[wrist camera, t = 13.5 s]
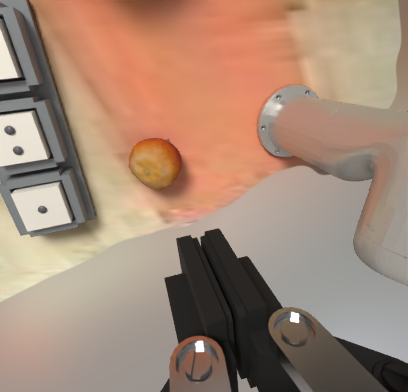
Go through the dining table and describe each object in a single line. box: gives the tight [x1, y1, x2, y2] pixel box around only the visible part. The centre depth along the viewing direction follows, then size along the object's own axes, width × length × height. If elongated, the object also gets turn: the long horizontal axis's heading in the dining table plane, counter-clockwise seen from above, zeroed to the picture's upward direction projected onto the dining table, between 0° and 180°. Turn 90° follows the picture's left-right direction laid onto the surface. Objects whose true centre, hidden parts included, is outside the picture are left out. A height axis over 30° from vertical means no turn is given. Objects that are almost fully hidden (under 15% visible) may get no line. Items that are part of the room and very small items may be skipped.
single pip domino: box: [11, 180, 74, 232], centre depth 41 cm, size 6×6×4 cm
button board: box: [0, 0, 96, 237], centre depth 38 cm, size 11×31×4 cm, turn 6°
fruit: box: [129, 138, 181, 190], centre depth 44 cm, size 8×8×8 cm
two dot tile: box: [0, 109, 52, 167], centre depth 37 cm, size 6×6×4 cm
